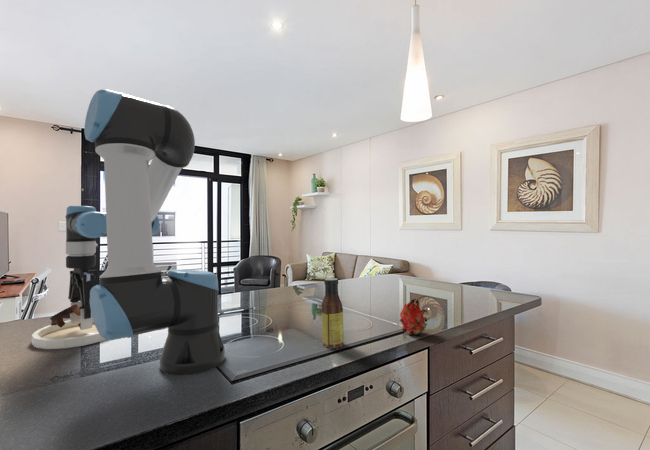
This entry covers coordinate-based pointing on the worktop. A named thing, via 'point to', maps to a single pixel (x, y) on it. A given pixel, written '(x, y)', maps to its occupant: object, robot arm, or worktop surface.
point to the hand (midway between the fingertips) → (81, 325)
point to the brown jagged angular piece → (65, 316)
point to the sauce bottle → (332, 315)
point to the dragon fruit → (413, 318)
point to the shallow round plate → (65, 336)
